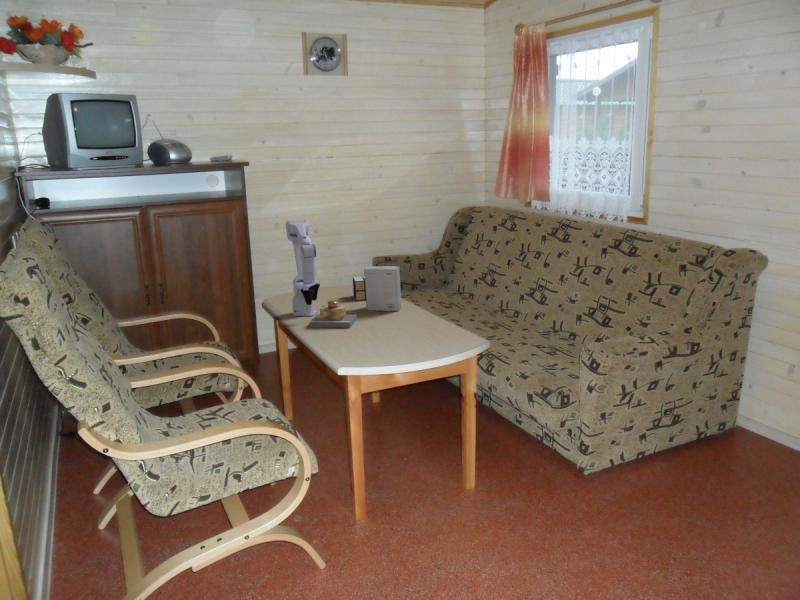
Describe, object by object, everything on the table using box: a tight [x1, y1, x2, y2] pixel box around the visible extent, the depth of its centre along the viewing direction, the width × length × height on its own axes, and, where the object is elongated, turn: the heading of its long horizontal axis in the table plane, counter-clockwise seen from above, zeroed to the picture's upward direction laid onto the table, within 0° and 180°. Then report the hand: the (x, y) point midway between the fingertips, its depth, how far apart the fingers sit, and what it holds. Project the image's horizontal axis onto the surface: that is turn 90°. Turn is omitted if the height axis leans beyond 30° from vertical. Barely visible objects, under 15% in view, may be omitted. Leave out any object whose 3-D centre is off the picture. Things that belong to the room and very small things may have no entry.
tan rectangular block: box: [319, 304, 347, 320], centre depth 283 cm, size 10×6×5 cm, turn 81°
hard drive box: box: [363, 265, 402, 312], centre depth 303 cm, size 16×8×20 cm, turn 74°
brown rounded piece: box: [327, 300, 338, 308], centre depth 283 cm, size 4×4×2 cm
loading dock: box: [309, 313, 357, 329], centre depth 284 cm, size 18×12×3 cm, turn 81°
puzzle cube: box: [352, 275, 366, 301], centre depth 327 cm, size 10×10×10 cm
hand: (311, 302), depth 285 cm, fingers open, 7 cm apart
